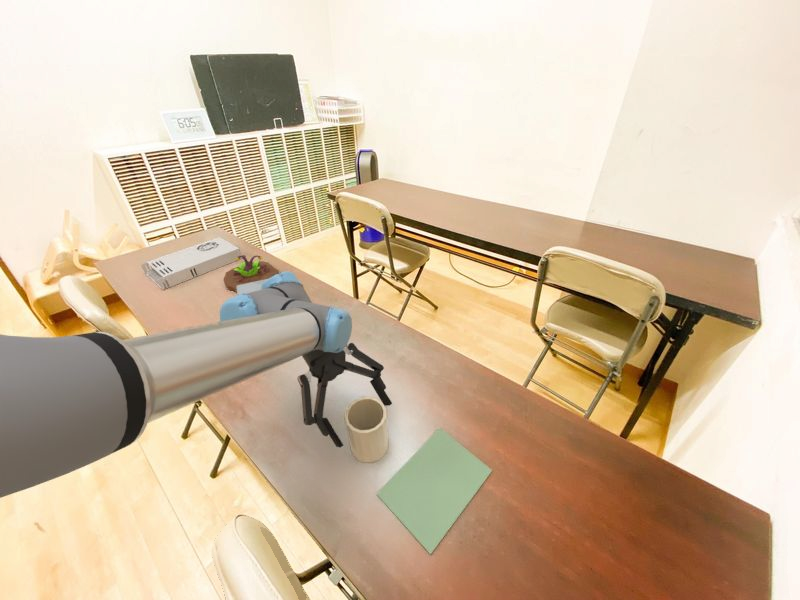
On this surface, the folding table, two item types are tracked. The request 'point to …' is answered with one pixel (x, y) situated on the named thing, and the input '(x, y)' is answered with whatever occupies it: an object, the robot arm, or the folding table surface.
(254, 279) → the plant
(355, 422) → the cup
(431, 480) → the place mat
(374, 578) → the folding table surface
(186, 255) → the power supply unit
